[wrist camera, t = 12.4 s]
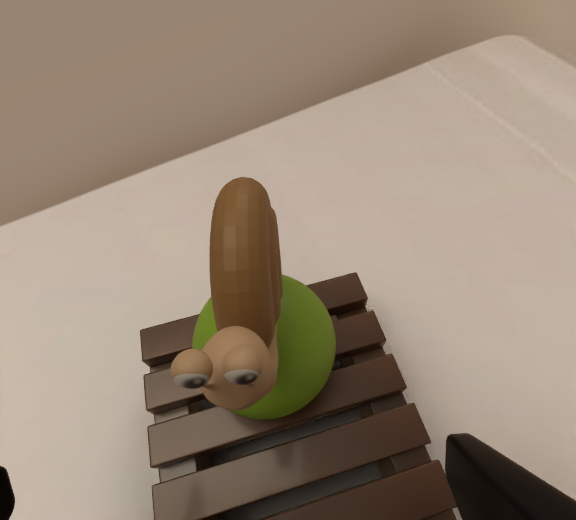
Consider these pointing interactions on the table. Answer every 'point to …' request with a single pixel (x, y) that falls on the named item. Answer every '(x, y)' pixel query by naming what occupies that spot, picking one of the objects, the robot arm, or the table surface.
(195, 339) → the snail figurine
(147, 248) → the table surface
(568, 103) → the table surface
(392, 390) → the rack
